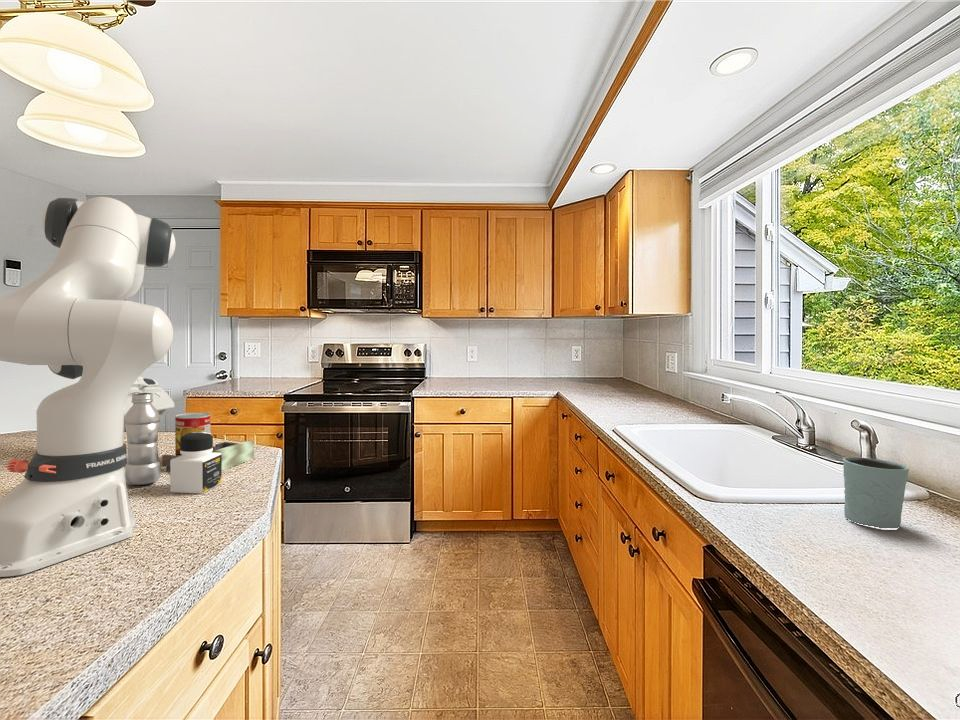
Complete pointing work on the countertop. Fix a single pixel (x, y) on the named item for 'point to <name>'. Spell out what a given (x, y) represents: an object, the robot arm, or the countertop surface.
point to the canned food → (190, 426)
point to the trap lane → (225, 454)
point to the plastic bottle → (142, 441)
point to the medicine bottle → (196, 465)
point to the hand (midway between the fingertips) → (152, 428)
